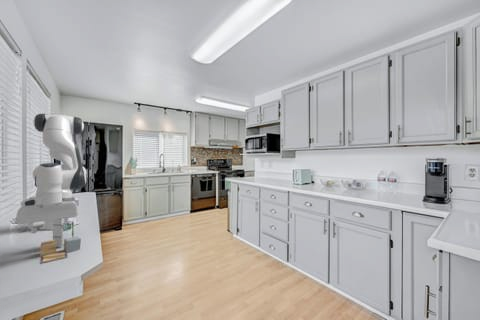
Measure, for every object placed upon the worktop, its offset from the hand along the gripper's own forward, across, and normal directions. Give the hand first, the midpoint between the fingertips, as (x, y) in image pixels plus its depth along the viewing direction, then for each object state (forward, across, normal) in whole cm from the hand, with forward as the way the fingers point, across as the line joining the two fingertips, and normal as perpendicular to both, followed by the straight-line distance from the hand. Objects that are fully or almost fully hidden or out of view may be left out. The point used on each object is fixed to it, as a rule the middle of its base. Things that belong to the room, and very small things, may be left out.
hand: (48, 230), depth 93 cm
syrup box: (+10, -5, -9) cm, 14 cm away
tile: (+10, -2, +6) cm, 12 cm away
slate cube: (+10, -8, +1) cm, 13 cm away
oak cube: (+10, 0, -1) cm, 10 cm away
